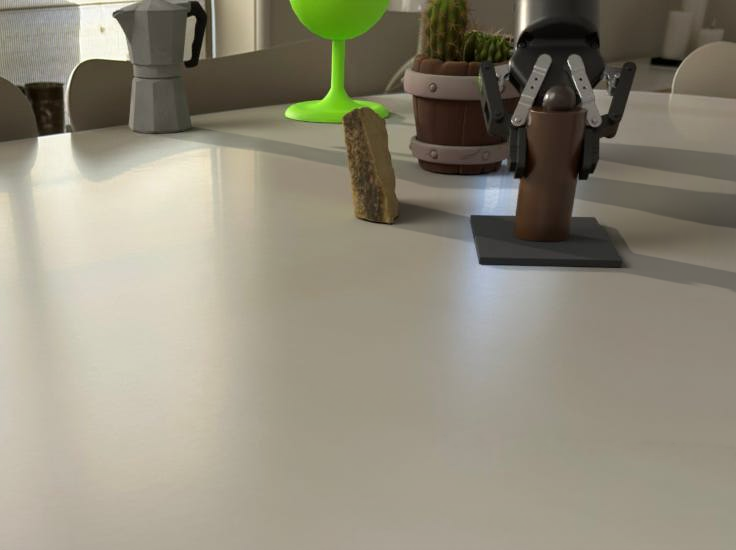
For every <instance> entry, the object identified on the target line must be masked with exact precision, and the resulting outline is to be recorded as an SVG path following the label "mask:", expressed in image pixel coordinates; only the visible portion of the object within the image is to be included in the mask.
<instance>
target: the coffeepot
mask: <svg viewBox="0 0 736 550" xmlns="http://www.w3.org/2000/svg"><path fill="white" fill-rule="evenodd" d="M111 16H112V18H113V19H115V20H116V22H117V23H118V24H119V26H120V27H121V30H122V32H123V33H124V35H125V41H126V46H127V51H128V57H129V61H130V63H131V64H132V68H133V76H134V77H133V79H131V80H132V81H131V92H130V103H129V104H130V107H129V118H128V127H129V129H130V130H131V131H132V132H136V133H142V134H173V133H181V132H185V131H188V130H190V129H191V128H192V127H193V125H192V119H191V115H190V108H189V103H188V98H187V93H186V87H185V83H184V79H183V77H182V76H181V75H182V69H181V63H183V65H184V67H185V68H186V69H193V68H196V67H197V66H198V64H199V62H200V61H199V60H200V56H201V51H202V47H203V42H204V38H205V37H204V36H205V32H206V28H207V24H208V14H207V12H206V10H205V9H204V8H203V6H202V4H201V3H200V1H198V0H188V1H184V2H183V1H181V2H175V3H174V2H170V1H168V0H140V1H137V2H135V3H132V4H129V5H125V6H123V7H120V8H119V9H116V10H115V11H113V12H112V14H111ZM190 17H194V18H195V24H194V29H193V31H194V32H193V33H194V34H193V40H192V43H191V57H190V59H188V60H184V55H185V47H186V46H185V45H186V44H185V43H186V35H187V34H186V33H187V22H188V18H190Z"/></svg>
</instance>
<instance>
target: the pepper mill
mask: <svg viewBox="0 0 736 550" xmlns="http://www.w3.org/2000/svg"><path fill="white" fill-rule="evenodd" d="M575 105H576V96H575V93H574V91H573V90H572V89H571V88H570V87H569V86H567V85H564V84H559V85H555V86H553V87H551V88H550V89H549V90H548V91H547V92H546V94H545V95H544V98H543V102H542V105H539V106H533V107H530V108H529V109H528V117H527V125H526V132H527V137H526V162H525V169H524V173H523V177H522V179H519V183H518V191H517V198H516V207H515V215H514V216H515V222H514V230H513V235H514V236H515V237H517V238H519V239H523V240H527V241H534V242H557V241H562V240H565V239H567V238H568V237H569V231H570V225H571V218H572V217H573V211H574V204H575V198H576V192H577V187H578V180H579V179H578V173H579V166H580V159H581V153H582V146H583V139H584V133H585V127H586V120H587V114H588V110H587V109H586V108H583V107H578V106H575Z"/></svg>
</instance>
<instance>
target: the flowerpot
mask: <svg viewBox="0 0 736 550" xmlns="http://www.w3.org/2000/svg"><path fill="white" fill-rule="evenodd" d="M473 1H474V0H426V1H425V2H424V5H426V4H427V5H426V7H424V8H423V7H421V9H422V10H418V11H417V12H419V13H420V12H421V13H420V14H421V15H420V17H421V18H419V19H418V21H420V20H421V21H420V23H421V25H420V28H421V29H422V30H419V31H418V32H417V34H419V35H418V36H417V37H419V38H420V39H421V40H420V42H419V43H421V42H422V43H421V44H420V45H421V46H422V48H423V49H422V50H421V52H422V53H418V54H416V55H415V56H414V59H413V64H412V66H410V67H408V68H406V69H405V71H404V76H402V78H400V83H401V84H402V85H403V90H404V92H405V93H406V94H409V95H411V96H412V109H413V115H414V116H413V117H414V124H415V133H416V134H414V135H413V136H411V138H410V139H409V141H410V143H409V144H408V148H409V150H411V154H412V156H413V157H414V158H416V159H417V160H418V161H417V162H418V165H419V167H421V168H422V169H424V170H426V171H428V172H433V173H439V174H440V173H441V174H458V173H459V175H479V174H481V173H482V174H483V173H485V174H487V173H490V172H492V171H493V170H495V171H496V170H499V169H501V167H502V164H503V161H504V160H507V149H508V142H507V139H506V138H505V137H503V136H500V135H498V136H496V137H492V136H490V135H489V134H488V132H487V128H486V123H485V119H484V114H483V110H482V105H481V101H480V96H479V92H478V88H477V83H478V77H479V71H480V65H481V63H482V62H484V61H491V62H492V63H493V64H494V66H499V65H504V64H508V63H509V60H510V59H511V57H512V56H513V53H511V45H510V44H511V41H512V38H510V40H509V41H508V40H507V38H508V37H509V36H512V35H513V36H514V33H512V34H511V33H510V34H506V32H505V33H503V36H501V35H498V34H499V33H500V32H501V31H503V30H507V28H505V27H504V28H501V29H499V30H497V31H495V29H496V27H493V28H491V29H490V28H487V30H488V31H487V32H486V31H485V32H484V31H482V30H483V29H485V24H484V22H482V23H481V24H480V25H479V26H478V23H479V22H480V18H478V19H477V21H475V19H470V16H469V15H471V16H473V15H472V12H471V11H474V12H476V10H475V9H470V8H471V7H472V5H471V4H472V2H473ZM468 14H469V15H468ZM471 22H472V23H471ZM424 24H425V25H424ZM423 25H424V26H423ZM489 29H490V30H489ZM492 29H493V30H492ZM489 33H490V34H489ZM423 44H426V46H425V45H423ZM500 94H501V98H502V103H503V107H504V111H505V113H507V114H510V115H513V114H514V112H515V110H516V107H517V105H518V103H519V101H520V98H521V96H520V95H519V94H518V92H517V91H516V90H515V89H514V87H513V86H512V85H511V83H510V82H509V81H508V80H506V81H504V84H503V89H502V91H501V92H500Z"/></svg>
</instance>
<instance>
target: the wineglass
mask: <svg viewBox="0 0 736 550" xmlns="http://www.w3.org/2000/svg"><path fill="white" fill-rule="evenodd" d="M391 1H392V0H289V3H290V6H291V9H292V11H293V12H294V14H295V16H296V17H297V18H298V21H300V23H301V24H302V25H303V26H304V27H305V28H307V29H308V30H309V31H310V32H311V33H313V34H314V35H317V36H318V37H320V38H323V39H325V40H332V41H331V43H332V46H331V82H330V89H329V91H328V92H327V94H326V95H325V96H324V97H323V98H322V99H319V100H308V101H301V102H297V103H294V104H292V105H290V106H289V107H288V108H287V109H286V110H285V113H284V117H286V118H287V119H291V120H296V121H302V122H310V123H329V124H330V123H331V124H332V123H333V124H339V123H340V124H342V117H343V116H344V115H345V114H347V113H348V112H351V111H352V110H354V109H356V108H358V109H361V108H362V107H369V108H371V109H372V110H373V111H374V112H375V113H377V114H378V115H379V116H380V117H381V118H382V119H385V118H388V117H389V116H390V114H389V110H388V109H387V108H386V107H385V105H382V104H381V103H377V102H373V101H368V100H366V101H365V100H358V99H352V98H351V97H350V96H349V95H348V93H347V91H346V89H345V59H346V40H352V39H354V38H356V37H359V36H361V35H363V34H365V33H367V32H368V31H369V30H370V29H372V28H373V27H374V26H375V25H376V24H377V23H378V22H379V21H380V20H381V18H382V17H383V15H384V14H385V13H386V11H387V10H388V8H389V6H390V3H391Z"/></svg>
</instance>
